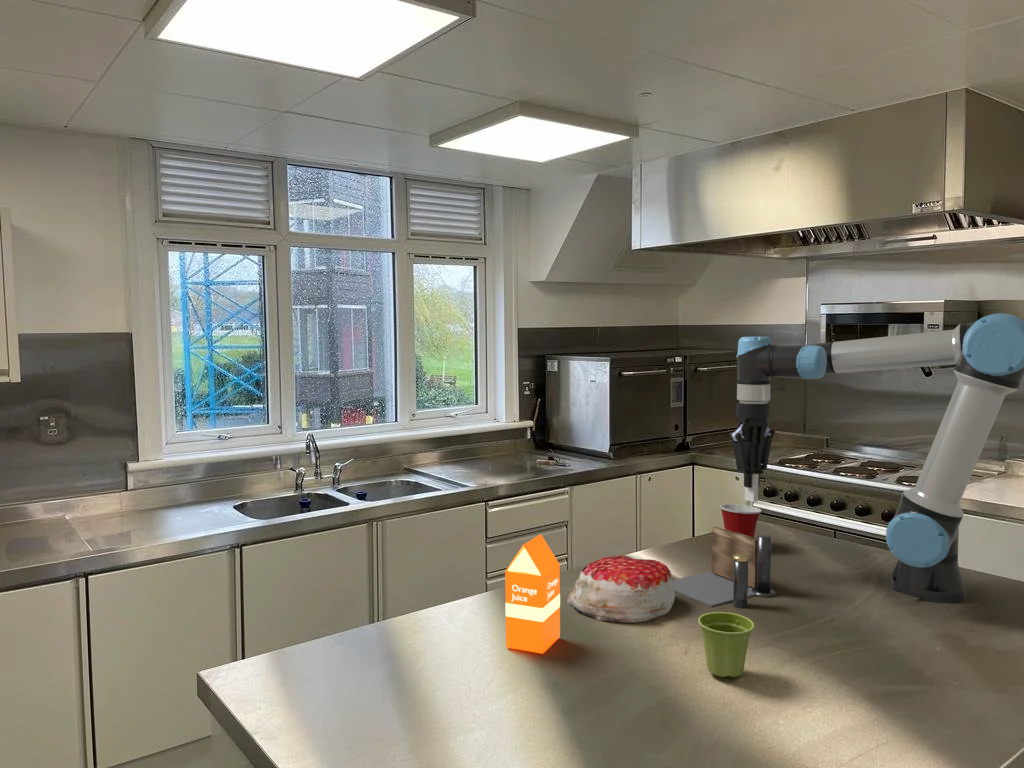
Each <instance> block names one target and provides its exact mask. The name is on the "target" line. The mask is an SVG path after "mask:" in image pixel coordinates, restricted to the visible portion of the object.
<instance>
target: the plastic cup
mask: <svg viewBox="0 0 1024 768" xmlns="http://www.w3.org/2000/svg"><path fill="white" fill-rule="evenodd" d="M719 509H720V510H721V515H722V520H723V526H724V528H723V529H726V530H729V531H733V532H736V533H739V534H743V535H746V536H750V537H753V538H755V532H756V527H757V524H758V523H757V522H758V519H759V516H760V514H761V513H762V511H763V510H762V509H760V508H759V507H755V506H751V505H745V504H739V503H738V504H737V503H724V504H723V503H722V504H719Z"/></svg>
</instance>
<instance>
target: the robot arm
mask: <svg viewBox="0 0 1024 768" xmlns="http://www.w3.org/2000/svg"><path fill="white" fill-rule="evenodd" d="M736 362H737V363H736V366H737V371H736V373H737V374H736V376H737V378H736V379H737V380H736V383H737V384H736V400H738V402H737V403H736V412H735V413H736V415H735V416H736V417H737V419H738V424H737V427H736V428H737V429H736V430H735V431H734V432H732V431H731V432H729V437H730V439H731V441H732V446H733V453H734V458H735V463H736V464H735V465H736V470H737V472H739V473H741V474H742V473H743V487H744V501H749V502H752V503H755V502H759V487H760V484H761V483H760V479H761V478H760V477H761V475H762V474H764V472H765V471H766V470H767V469H768V463H769V457H770V452H771V447H772V442H773V441H772V440H773V438H774V436H775V434H776V431H775V429H770V427H769V424H768V419H769V418H770V415H771V413H770V412H771V404H770V403H769V402H770V401H771V378H775V379H776V378H784V379H785V378H786V379H804V380H813V379H817V380H818V379H822V378H823V377H824V376H825V375H834V374H846V373H857V372H859V373H860V372H870V371H884V370H885V371H886V370H896V369H897V370H898V369H910V368H913V369H914V368H921V367H922V368H924V367H925V368H926V367H936V366H938V367H939V366H952V365H955V367H954V369H953V373H954V375H955V376H956V378H957V383H956V386H955V388H954V391H953V393H952V395H951V398H950V400H949V403H948V406H947V408H946V410H945V412H944V415H943V418H942V420H941V422H940V425H939V427H938V430H937V433H936V435H935V437H934V440H933V441H932V444H931V447H930V450H929V451H928V454H927V457H926V459H925V461H924V464H923V466H922V469H921V471H920V474H919V475H918V479H917V482H915V483H916V484H915V486H914V487H912V488H909V489H906V490H905V491H903V492H902V493H901V495H900V499H899V504H898V506H897V509H896V511H895V514H894V516H893V518H892V519H891V520H890V521H889V522H888V523H887V526H886V529H885V541H886V543H887V544H886V545H887V547H888V549H889V550H890V552H891V554H892V555H893V556H894V557H895V558H896V559H897V562H896V564H895V567H894V568H893V572H892V575H891V577H890V589H891V590H892V591H895V592H898V593H901V594H904V595H907V596H911V597H914V598H917V600H918V601H922V602H928V603H936V604H953V603H960V602H963V601H965V600H966V599H967V587H966V584H965V581H964V577H963V575H962V572H961V568H960V565H959V539H960V538H959V535H960V533H959V531H960V525H961V522H962V520H963V517H964V511H963V509H962V507H961V506H960V502H961V500H962V498H963V495H964V493H965V491H966V489H967V486H968V484H969V481H970V479H971V477H972V474H973V473H974V470H975V467H976V465H977V463H978V460H979V458H980V455H981V454H982V451H983V450H984V446H985V444H986V442H987V439H988V438H989V434H990V432H991V430H992V428H993V426H994V423H995V421H996V419H997V416H998V414H999V412H1000V410H1001V407H1002V404H1003V402H1004V400H1005V399H1006V398H1005V397H1006V396H1007V395H1009V394H1011V393H1013V392H1016V391H1018V389H1019V387H1020V385H1021V383H1022V380H1023V378H1024V319H1023V318H1022V317H1020V316H1016V315H1013V314H1008V313H1003V312H1002V313H992V314H989V315H985V316H983V317H981V318H980V319H978V320H976V321H975V322H970V323H959V324H958V325H957V326H956V327H955V328H954V329H949V330H948V329H947V330H937V331H929V332H928V331H927V332H920V333H910V334H899V335H890V336H888V335H887V336H881V337H870V338H860V339H850V340H842V341H840V340H839V341H833V342H822V343H809V344H798V345H797V344H796V345H795V344H794V345H793V344H792V345H791V344H790V345H788V344H787V345H782V344H781V345H778V344H773V343H772V338H771V337H770V336H742V337H740V338H739V340H738V343H737V355H736Z"/></svg>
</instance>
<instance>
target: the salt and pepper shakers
mask: <svg viewBox="0 0 1024 768" xmlns="http://www.w3.org/2000/svg"><path fill="white" fill-rule="evenodd" d="M756 538H757V588H754V589H752V592H753V593H755V594H756V597H759V598H773V597H775V596H776V591H775V590H773V589H772V588H771V587H772V585H771V582H772V581H771V578H772V577H771V576H772V536H771V535H769V534H758V535H756ZM733 560H734V579H733V601H732V602H733V603H732V604H733V605H732V606H733V607H735V608H739V609H746V608H748V607H749V597H748V561H749V556H748V555H744V554H735V555H733Z"/></svg>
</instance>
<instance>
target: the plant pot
mask: <svg viewBox="0 0 1024 768" xmlns="http://www.w3.org/2000/svg"><path fill="white" fill-rule="evenodd" d="M697 621H698V625H699V626H700V631H701V632H702V636H703V645H704V646H703V647H704V653H705V660H706V661H705V662H706V668H707V669H708V671H709V672H710V673H711V674H712V675H715V676H719V677H722V678H726V677H732V678H737V677H739V676H741V675H743V673H744V670H745V663H746V657H747V651H748V645H749V638H750V637H751V635H752V631H753V630H754V629H755V624H754V621H752V620H751V619H750V618H749V617H746V616H744V615H741V614H738V613H733V612H725V611H724V612H723V611H722V612H721V611H714V612H713V611H712V612H707V613H704V614H702V615H700V616H699V617H698V619H697Z"/></svg>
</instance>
